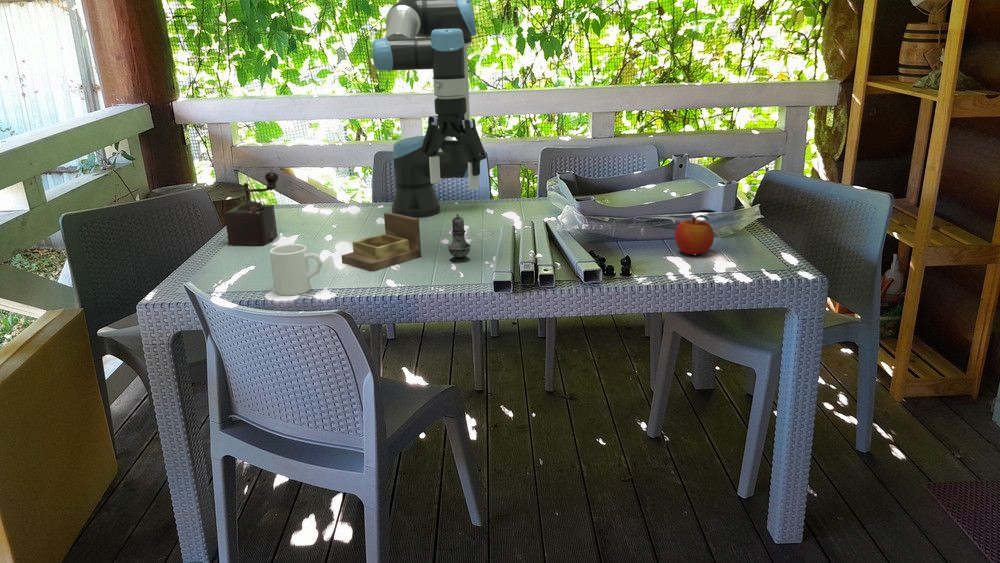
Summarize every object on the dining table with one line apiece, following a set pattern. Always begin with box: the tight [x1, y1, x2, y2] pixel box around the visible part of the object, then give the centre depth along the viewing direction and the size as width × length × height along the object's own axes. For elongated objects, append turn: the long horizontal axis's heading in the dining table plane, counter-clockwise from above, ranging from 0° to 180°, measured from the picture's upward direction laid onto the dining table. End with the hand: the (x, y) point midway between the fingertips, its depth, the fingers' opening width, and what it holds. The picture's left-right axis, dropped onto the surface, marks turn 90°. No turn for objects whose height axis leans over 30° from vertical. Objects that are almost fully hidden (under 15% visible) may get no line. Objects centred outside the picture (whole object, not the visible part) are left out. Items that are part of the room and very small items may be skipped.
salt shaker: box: [447, 213, 472, 264], centre depth 202 cm, size 6×6×12 cm
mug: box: [269, 243, 324, 297], centre depth 183 cm, size 8×12×10 cm
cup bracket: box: [340, 211, 422, 272], centre depth 205 cm, size 16×12×10 cm
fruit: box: [674, 214, 715, 256], centre depth 202 cm, size 10×10×10 cm
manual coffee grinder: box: [224, 171, 279, 247], centre depth 227 cm, size 16×11×18 cm
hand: (454, 185), depth 198 cm, fingers open, 13 cm apart
